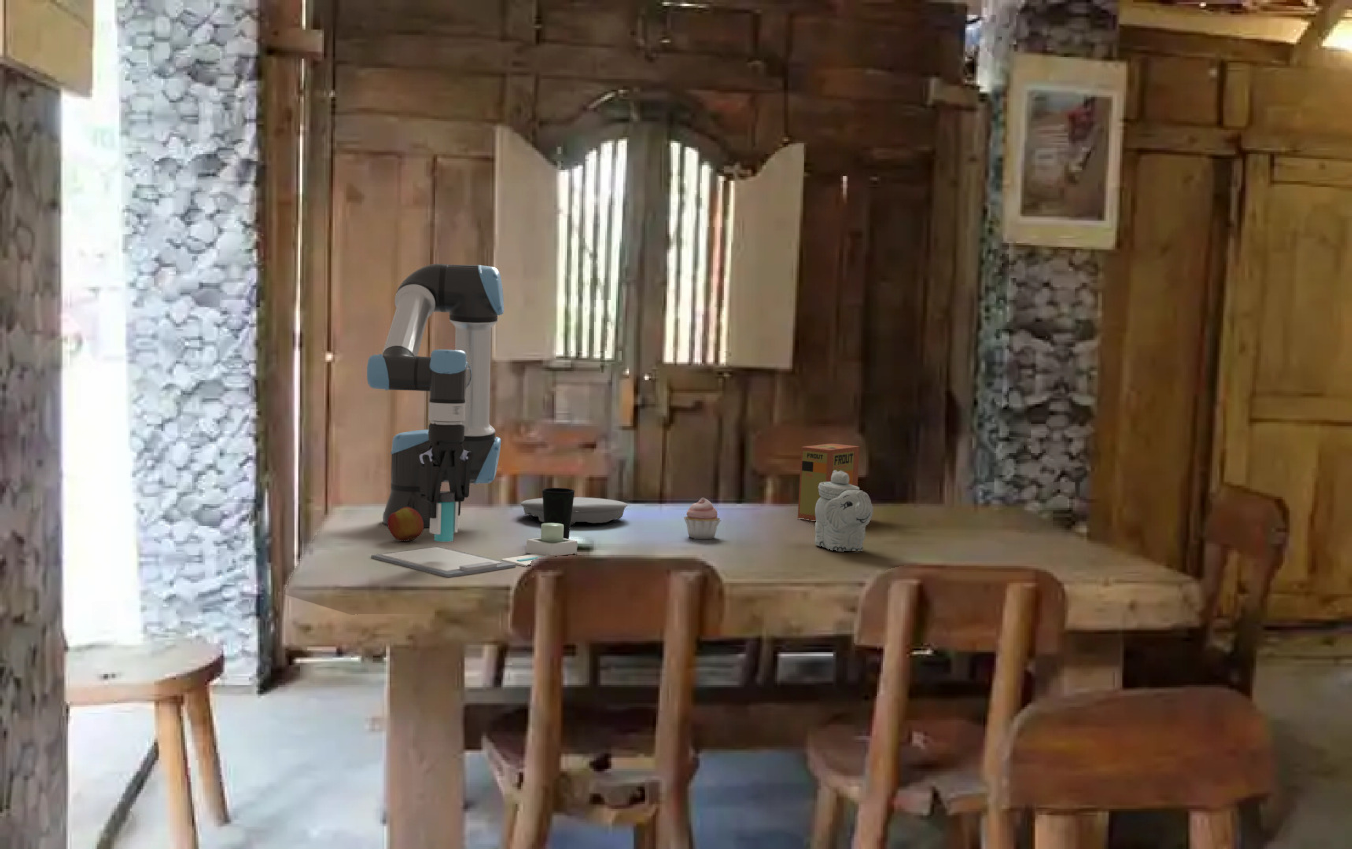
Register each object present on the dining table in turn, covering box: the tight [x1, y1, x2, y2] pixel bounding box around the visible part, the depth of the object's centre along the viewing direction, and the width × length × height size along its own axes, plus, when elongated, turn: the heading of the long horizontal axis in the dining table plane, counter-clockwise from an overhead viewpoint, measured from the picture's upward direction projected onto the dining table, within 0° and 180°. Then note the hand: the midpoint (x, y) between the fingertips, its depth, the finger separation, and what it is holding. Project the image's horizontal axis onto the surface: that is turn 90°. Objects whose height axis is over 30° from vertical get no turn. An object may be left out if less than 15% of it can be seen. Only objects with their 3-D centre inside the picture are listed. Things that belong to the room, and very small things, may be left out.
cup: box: [541, 487, 575, 539], centre depth 316 cm, size 8×8×12 cm
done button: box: [540, 522, 564, 543], centre depth 298 cm, size 5×5×4 cm
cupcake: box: [683, 497, 722, 540], centre depth 328 cm, size 9×9×10 cm
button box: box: [525, 537, 578, 556], centre depth 299 cm, size 8×8×3 cm
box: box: [797, 443, 860, 520], centre depth 368 cm, size 17×9×20 cm, turn 144°
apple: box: [387, 507, 424, 542], centre depth 306 cm, size 8×8×8 cm
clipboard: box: [370, 545, 517, 578], centre depth 283 cm, size 26×18×1 cm
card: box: [500, 554, 544, 567], centre depth 289 cm, size 8×10×1 cm
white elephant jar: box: [814, 470, 874, 552], centre depth 319 cm, size 16×15×19 cm
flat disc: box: [520, 496, 628, 526], centre depth 348 cm, size 28×28×4 cm
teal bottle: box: [433, 490, 455, 543], centre depth 282 cm, size 4×4×10 cm
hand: (443, 532), depth 283 cm, fingers closed on teal bottle, 4 cm apart
